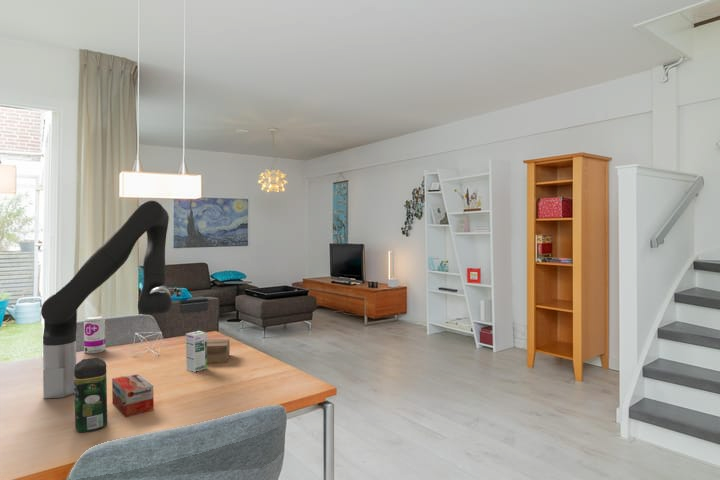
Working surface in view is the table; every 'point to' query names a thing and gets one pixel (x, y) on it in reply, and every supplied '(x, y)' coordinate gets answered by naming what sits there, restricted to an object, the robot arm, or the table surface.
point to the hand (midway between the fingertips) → (163, 290)
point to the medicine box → (132, 394)
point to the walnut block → (218, 350)
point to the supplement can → (94, 334)
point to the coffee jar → (90, 394)
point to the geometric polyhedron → (145, 344)
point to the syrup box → (196, 351)
